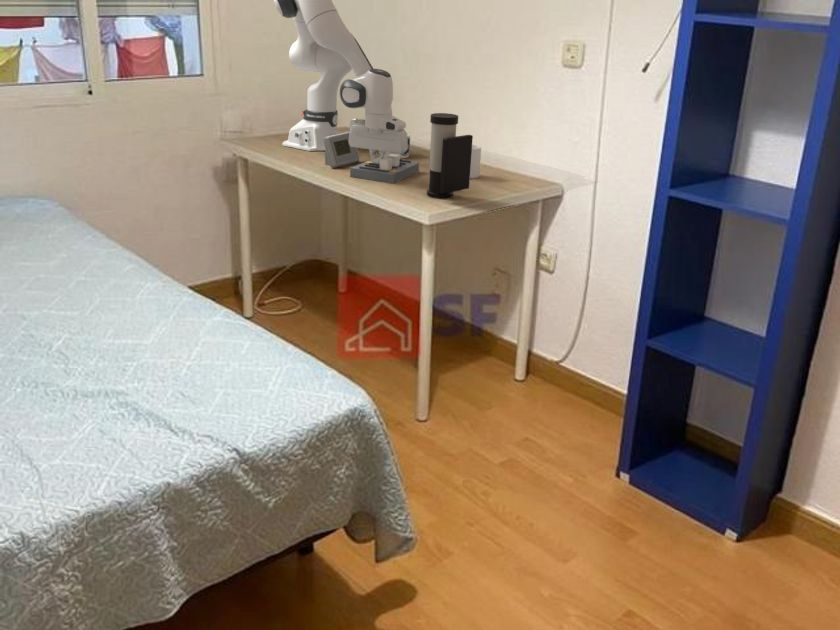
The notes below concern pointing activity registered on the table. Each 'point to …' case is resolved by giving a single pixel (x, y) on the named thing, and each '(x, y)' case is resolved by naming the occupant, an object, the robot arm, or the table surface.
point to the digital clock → (339, 150)
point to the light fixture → (448, 157)
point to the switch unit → (384, 171)
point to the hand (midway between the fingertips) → (377, 163)
